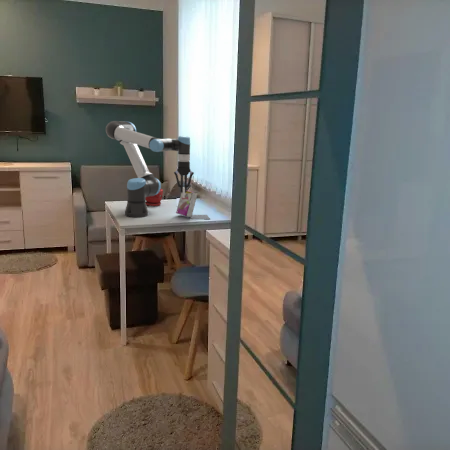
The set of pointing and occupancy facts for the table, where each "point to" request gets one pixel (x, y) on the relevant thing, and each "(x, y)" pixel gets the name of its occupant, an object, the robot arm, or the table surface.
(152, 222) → the table surface
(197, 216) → the rubber mat
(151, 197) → the plant pot
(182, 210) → the candy bar box
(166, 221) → the table surface
